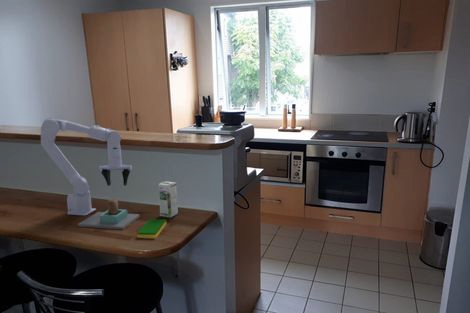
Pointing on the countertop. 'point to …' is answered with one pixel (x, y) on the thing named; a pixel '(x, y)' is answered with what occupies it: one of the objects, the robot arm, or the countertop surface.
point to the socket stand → (109, 220)
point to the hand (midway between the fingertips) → (117, 185)
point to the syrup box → (168, 199)
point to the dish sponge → (151, 228)
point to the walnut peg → (113, 207)
